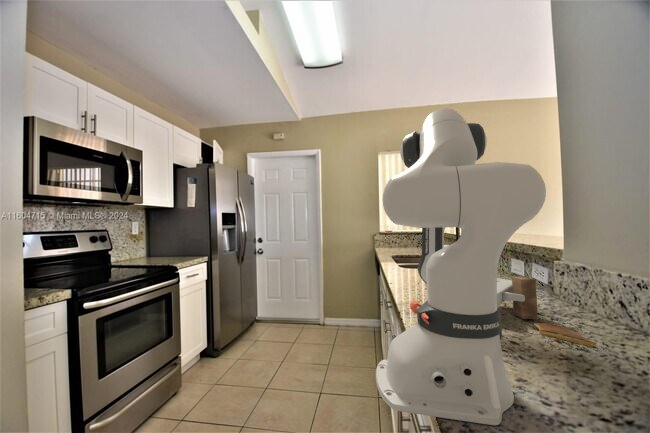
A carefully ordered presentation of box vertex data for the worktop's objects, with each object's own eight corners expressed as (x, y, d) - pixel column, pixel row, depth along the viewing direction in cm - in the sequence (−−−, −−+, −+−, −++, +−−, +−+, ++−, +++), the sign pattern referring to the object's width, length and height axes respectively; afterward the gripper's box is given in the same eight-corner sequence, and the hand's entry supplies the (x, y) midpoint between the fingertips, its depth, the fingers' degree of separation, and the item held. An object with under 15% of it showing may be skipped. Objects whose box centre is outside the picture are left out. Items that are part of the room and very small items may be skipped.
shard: (597, 350, 58) (596, 342, 58) (557, 348, 60) (557, 340, 60) (562, 330, 69) (561, 323, 69) (529, 329, 70) (529, 322, 70)
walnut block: (522, 318, 74) (520, 279, 75) (513, 313, 78) (511, 276, 79) (537, 318, 74) (535, 279, 74) (527, 313, 78) (526, 276, 78)
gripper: (462, 283, 79) (518, 291, 69) (485, 273, 93) (535, 279, 83) (463, 304, 79) (519, 315, 69) (486, 291, 93) (536, 299, 82)
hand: (528, 295), depth 76 cm, fingers closed on walnut block, 6 cm apart
